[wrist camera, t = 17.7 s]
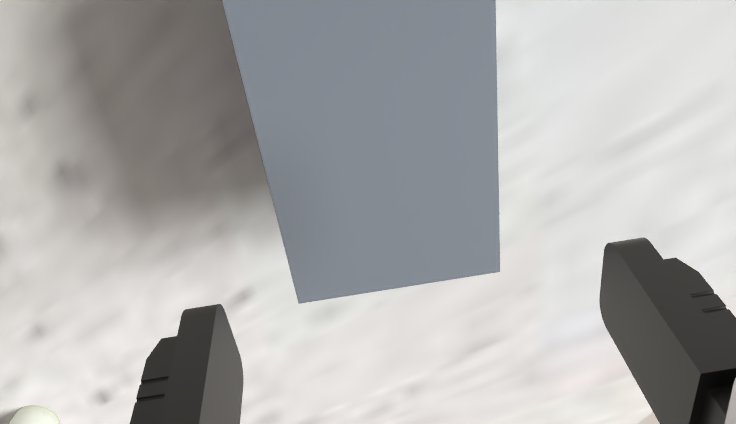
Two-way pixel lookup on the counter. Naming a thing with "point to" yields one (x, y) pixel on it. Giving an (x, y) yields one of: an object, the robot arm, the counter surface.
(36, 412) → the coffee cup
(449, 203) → the matte grey box
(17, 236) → the counter surface
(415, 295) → the counter surface
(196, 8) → the counter surface
